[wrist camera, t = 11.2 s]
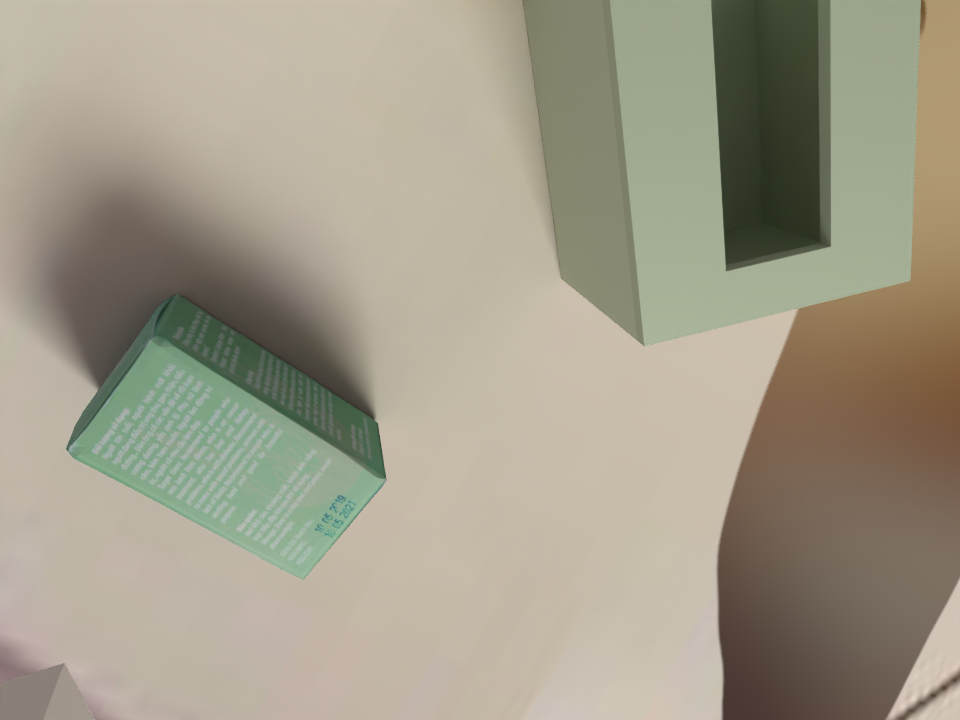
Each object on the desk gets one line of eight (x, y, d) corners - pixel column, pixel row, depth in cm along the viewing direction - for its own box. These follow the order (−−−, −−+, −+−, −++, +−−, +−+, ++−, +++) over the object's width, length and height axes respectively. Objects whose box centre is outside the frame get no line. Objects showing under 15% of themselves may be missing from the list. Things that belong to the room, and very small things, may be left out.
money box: (516, -48, 39) (600, -93, 28) (757, -90, 41) (926, -148, 30) (561, 278, 46) (644, 346, 35) (768, 230, 47) (910, 280, 36)
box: (171, 285, 41) (145, 330, 34) (379, 417, 46) (393, 479, 39) (93, 392, 42) (54, 457, 36) (305, 510, 47) (306, 586, 41)
